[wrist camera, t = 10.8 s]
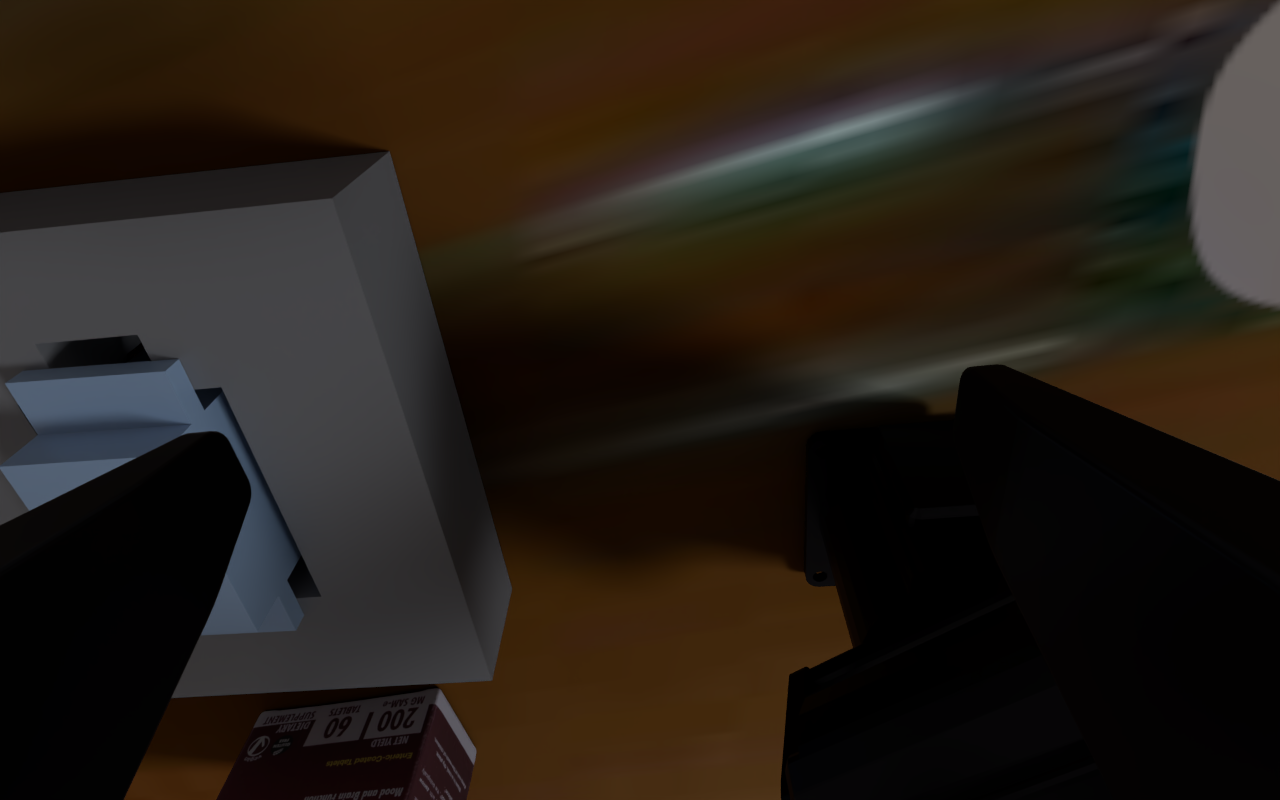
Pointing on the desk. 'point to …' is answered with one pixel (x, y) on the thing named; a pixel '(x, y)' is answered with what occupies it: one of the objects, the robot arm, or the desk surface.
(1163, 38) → the desk surface
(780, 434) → the desk surface
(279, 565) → the block
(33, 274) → the chassis
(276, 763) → the supplement box
